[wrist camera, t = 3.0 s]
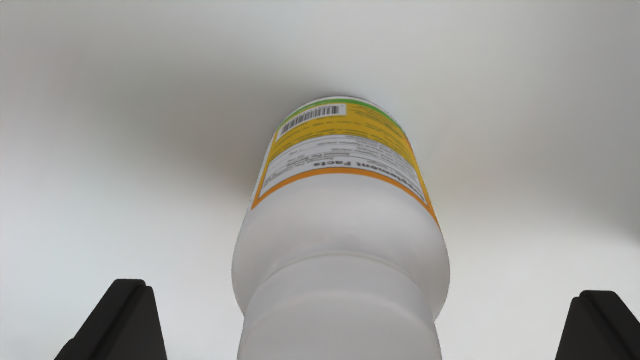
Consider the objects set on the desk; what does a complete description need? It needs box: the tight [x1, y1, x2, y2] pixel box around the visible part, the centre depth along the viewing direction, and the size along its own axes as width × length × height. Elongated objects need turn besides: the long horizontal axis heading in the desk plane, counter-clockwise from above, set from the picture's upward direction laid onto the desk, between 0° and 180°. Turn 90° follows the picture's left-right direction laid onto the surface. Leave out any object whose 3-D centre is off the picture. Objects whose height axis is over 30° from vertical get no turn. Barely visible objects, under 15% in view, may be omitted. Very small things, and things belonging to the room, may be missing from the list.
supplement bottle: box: [231, 96, 450, 360], centre depth 13 cm, size 5×5×10 cm
